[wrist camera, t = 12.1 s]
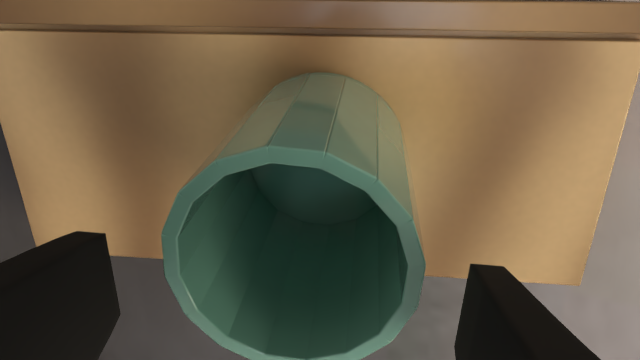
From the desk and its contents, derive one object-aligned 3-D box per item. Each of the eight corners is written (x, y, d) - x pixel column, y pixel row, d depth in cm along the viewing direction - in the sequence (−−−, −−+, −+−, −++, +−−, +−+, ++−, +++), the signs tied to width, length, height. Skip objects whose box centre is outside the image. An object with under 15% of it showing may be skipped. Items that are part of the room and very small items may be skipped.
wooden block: (75, 218, 21) (37, 251, 18) (20, -9, 17) (-37, -4, 15) (554, 245, 19) (580, 286, 16) (615, -5, 15) (659, 2, 13)
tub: (275, 239, 17) (222, 386, 11) (217, 100, 15) (116, 188, 9) (423, 205, 16) (450, 348, 10) (380, 48, 14) (382, 112, 8)
